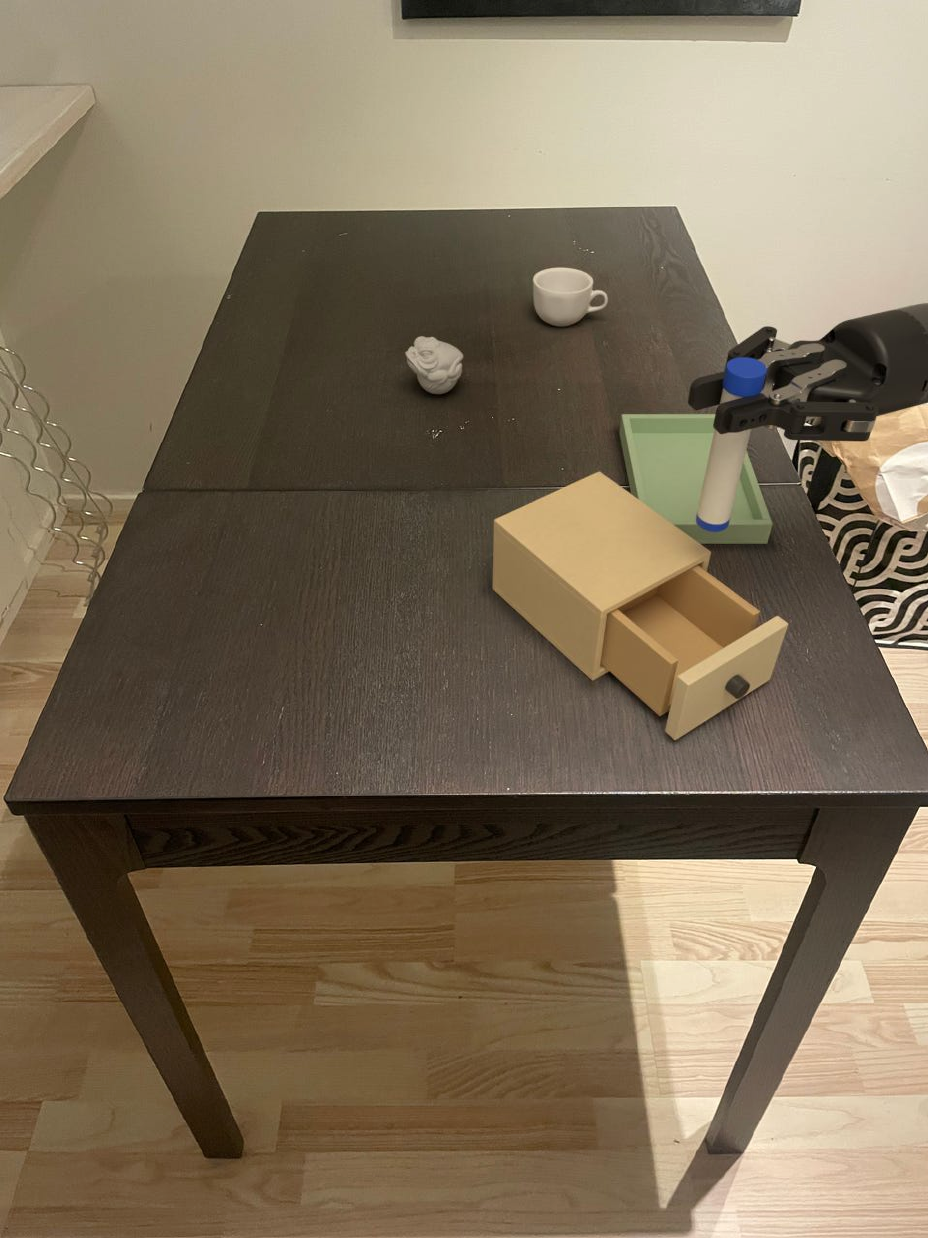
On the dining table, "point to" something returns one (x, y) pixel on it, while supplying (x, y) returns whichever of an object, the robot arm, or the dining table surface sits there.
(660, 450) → the tray
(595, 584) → the cabinet
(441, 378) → the frog figurine
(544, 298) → the teacup
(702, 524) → the marker
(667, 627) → the drawer
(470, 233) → the dining table surface
